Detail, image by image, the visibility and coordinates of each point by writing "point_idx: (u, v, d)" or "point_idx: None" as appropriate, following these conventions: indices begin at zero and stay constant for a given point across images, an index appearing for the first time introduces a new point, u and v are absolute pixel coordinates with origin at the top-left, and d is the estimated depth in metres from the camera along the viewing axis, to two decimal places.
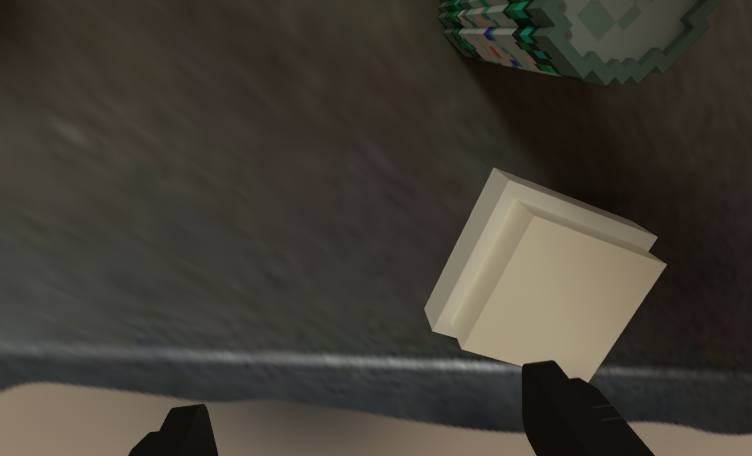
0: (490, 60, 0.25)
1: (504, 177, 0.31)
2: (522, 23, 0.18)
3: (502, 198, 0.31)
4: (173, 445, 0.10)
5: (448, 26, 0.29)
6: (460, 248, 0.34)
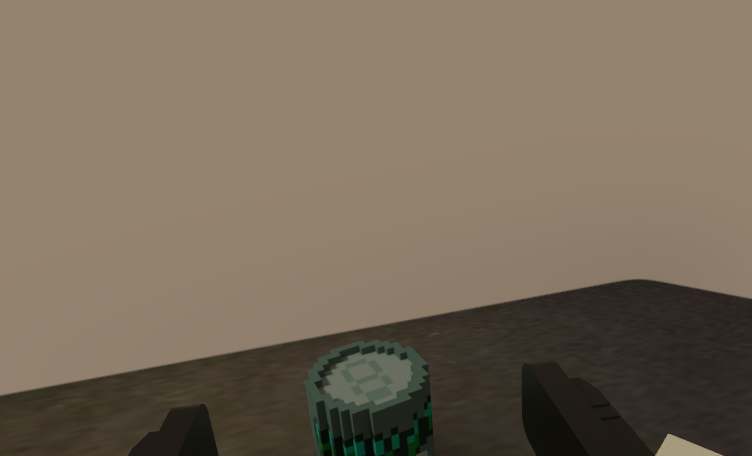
0: None
1: None
2: (370, 455, 0.23)
3: None
4: (173, 445, 0.10)
5: None
6: None
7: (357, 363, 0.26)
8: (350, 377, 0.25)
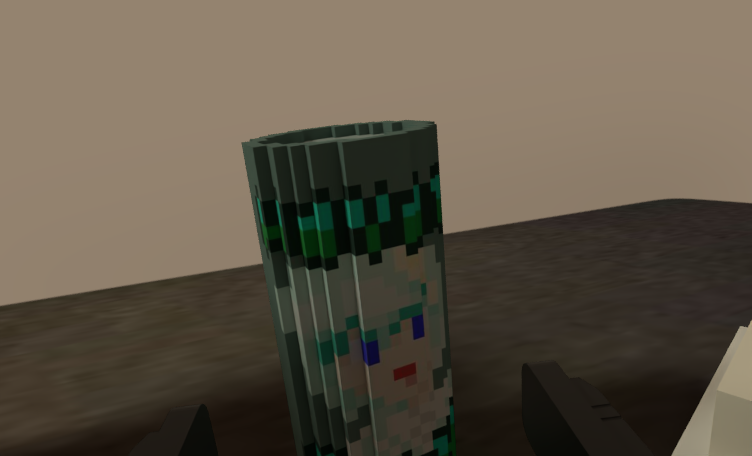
0: (429, 422, 0.16)
1: None
2: (342, 233, 0.14)
3: None
4: (173, 445, 0.10)
5: None
6: None
7: (328, 140, 0.17)
8: None
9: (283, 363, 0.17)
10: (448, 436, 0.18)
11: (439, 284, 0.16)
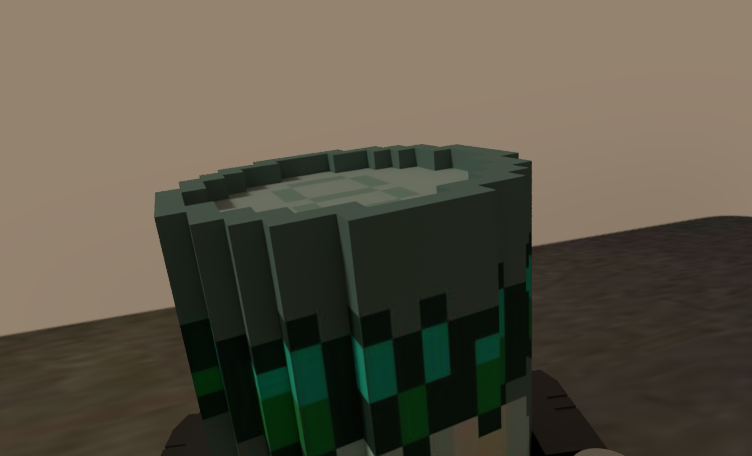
0: None
1: None
2: (348, 403, 0.06)
3: None
4: None
5: None
6: None
7: (321, 180, 0.10)
8: (296, 196, 0.09)
9: None
10: None
11: None
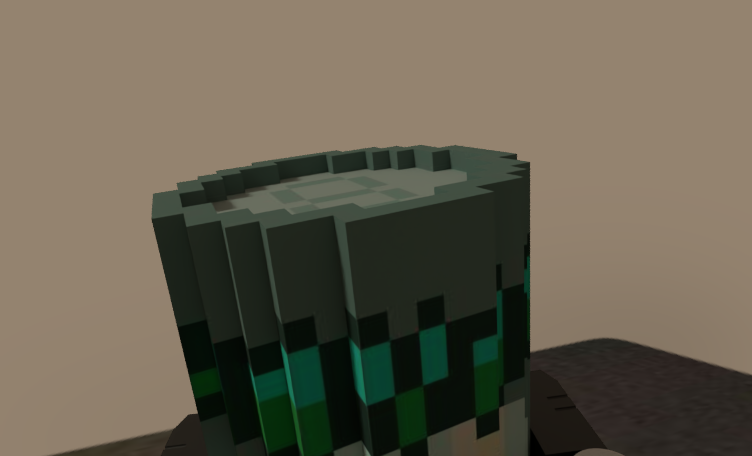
0: None
1: None
2: (345, 405, 0.06)
3: None
4: None
5: None
6: None
7: (319, 182, 0.10)
8: (294, 197, 0.09)
9: None
10: None
11: None
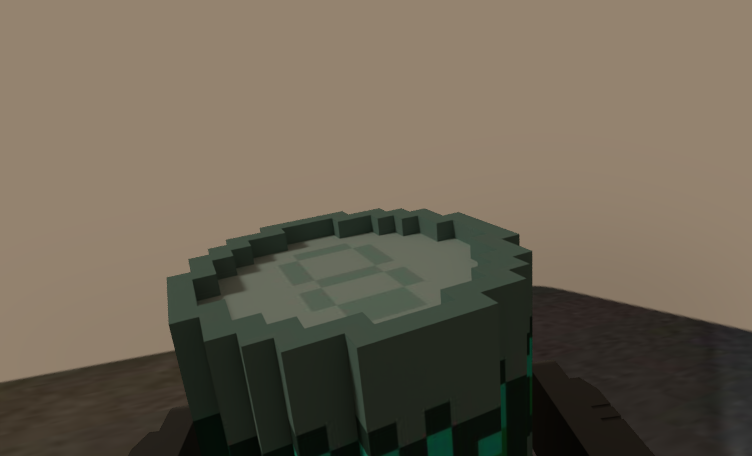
0: None
1: None
2: None
3: None
4: (173, 445, 0.10)
5: None
6: None
7: (326, 251, 0.10)
8: (303, 275, 0.09)
9: None
10: None
11: None
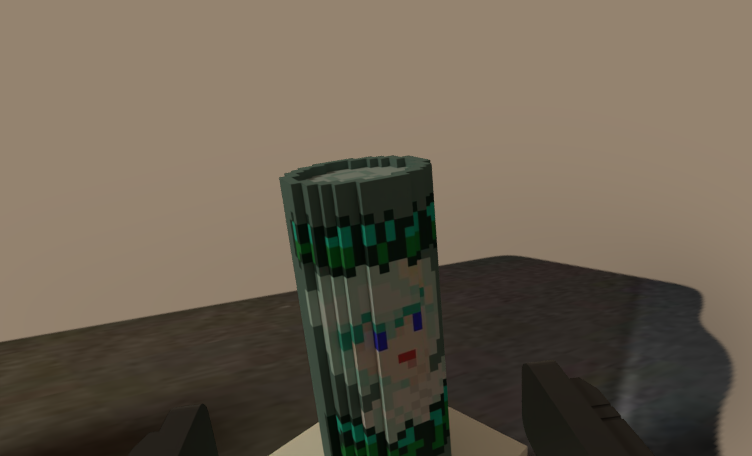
0: (426, 397, 0.21)
1: None
2: (359, 249, 0.18)
3: None
4: (173, 445, 0.10)
5: None
6: None
7: (345, 173, 0.22)
8: (336, 179, 0.21)
9: (310, 351, 0.22)
10: (442, 410, 0.22)
11: (435, 288, 0.21)
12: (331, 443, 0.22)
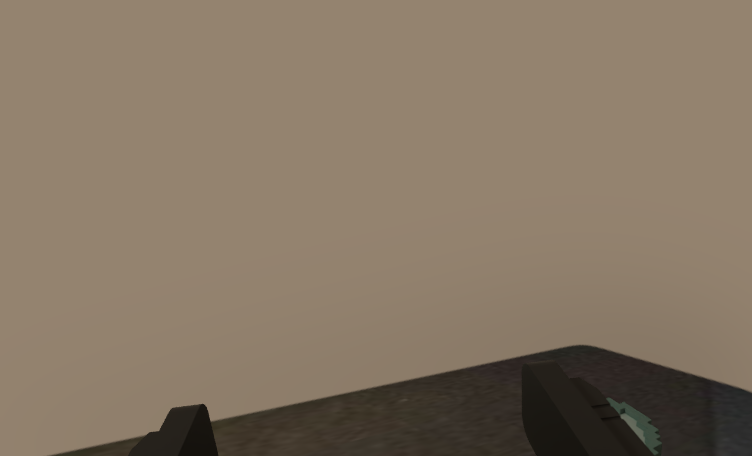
0: None
1: None
2: None
3: None
4: (173, 445, 0.10)
5: None
6: None
7: None
8: None
9: None
10: None
11: None
12: None
